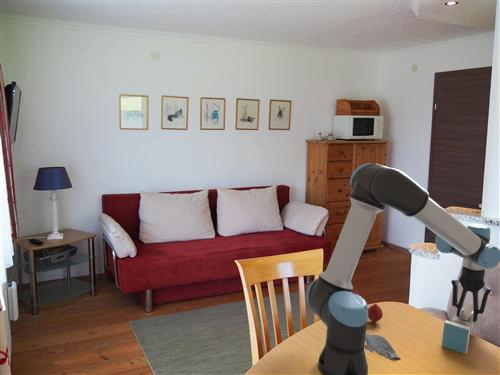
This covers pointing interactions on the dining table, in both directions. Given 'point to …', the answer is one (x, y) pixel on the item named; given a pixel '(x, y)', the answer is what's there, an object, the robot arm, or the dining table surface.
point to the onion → (374, 313)
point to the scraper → (464, 317)
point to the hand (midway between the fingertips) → (465, 327)
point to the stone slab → (380, 346)
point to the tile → (456, 337)
